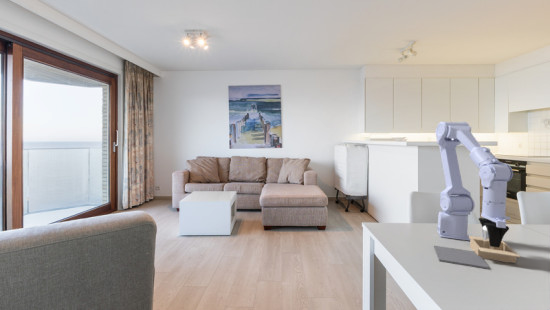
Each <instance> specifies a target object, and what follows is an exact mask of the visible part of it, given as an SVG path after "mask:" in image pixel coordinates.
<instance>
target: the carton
mask: <svg viewBox="0 0 550 310" xmlns="http://www.w3.org/2000/svg"><path fill="white" fill-rule="evenodd" d="M468 237H469V238H470V239H471V241H470V243H469V248H471V249H470V250H471V251H475V252H476V254H477V255H478V256H481V257H482V259H485V260H486V259H487V260H494V261H500V262H505V263H506V262H507V263H514V264H517V258H521V256H520V255H519V254H518V253H517V252H516V251H515V250H514V249H513V248H511V247H510V246H509V245H508V244H507V243H506V242H505V241H503V240H502V241H501V244H500V247H498V248H497V250H495V249H488V248H483V237H480V236H479V237H478V236H472V235H471V236H470V235H468Z"/></svg>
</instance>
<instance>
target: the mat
mask: <svg viewBox="0 0 550 310" xmlns="http://www.w3.org/2000/svg"><path fill="white" fill-rule="evenodd" d="M433 248H434V250H435V254H436V256H437V258H438V261H439V262H443V263H449V264H455V265H461V266H468V267H474V268H480V269H484V270H485V269H486V270H490V266H488V264H487V263H486V261H485V260H484V258H482V257H481V256H478V255H477V254H476V252H475V251H473V250H468V249H467V250H466V249H461V248H456V247H455V248H453V247H448V246H440V245H433Z"/></svg>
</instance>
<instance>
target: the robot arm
mask: <svg viewBox="0 0 550 310" xmlns="http://www.w3.org/2000/svg"><path fill="white" fill-rule="evenodd" d="M434 133H435V137H436V142H437V145H438V147H439V153H440V158H441V164H442V170H443V175H444V176H443V177H444V181H445V189H443V190H441V192H440V193H439V195H440V198H439V199H440V200H439V205H440V208H441V210H442V211H439V212H438V215H437V230H436V231H437V233H438V235H439V237H440V238H447V239H453V240H463V241H471V239H470V238H469V235H468V231H469V228H468V225H469V216H470V215H471V213H472V212H474V209H475V204H476V203H475V201H474V199H473V197H472V195H471V191H469V190H468V189H466V188H465V187H464V186H463V181H462V176H461V169H460V165H459V160H458V154H457V146H458V145H460V144H462V146H464V147H465V149H467V151H468V152H470V153H469V158H470V159H471V162H473V164H474V165H475V166H476V167H477V169H478V170H479V171H478V176H479V179H480V182H481V183H480V185H481V187H482V201H481V202H482V206H481V214H480V216H481V217H478V220H479V222H480V225H481V228H482V227H483V226H486V228H487V231H488V235H489V243H490V246H491V247H500V244H501V241H503V239H504V236H505V235H506V234H507V232H508V231H509V230H510V227H509V226H507V222H506V221H509V220H511V217H510V216H508V215H506V209H507V208H506V207H507V189H508V188H507V187H508V182H510V181H511V180H512V178H513V176H514V171H513V169H512V167H511V165H510V164H509V163H505V162H502V161H499V159H498V158H497V157H496V155H494V154H493V153H492V152H491V149H490V148H489V147H485V146H481V145H480V143H479V142H478V140H477V139H476V137H475V136H474V135H473V134H472V126H470V124H469V123H468V122H466V121H459V122H457V121H455V122H453V121H446V122H445V121H440V122H439V123H438V124H437V126H436V128H435V132H434Z"/></svg>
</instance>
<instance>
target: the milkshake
mask: <svg viewBox="0 0 550 310" xmlns="http://www.w3.org/2000/svg"><path fill="white" fill-rule="evenodd" d="M481 229H482V238H483V248H488V249H495V250H497V248H498V247H491V246H490V243H489V235H488V231H487V228H486V226H483V227H482V226H481Z"/></svg>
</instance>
